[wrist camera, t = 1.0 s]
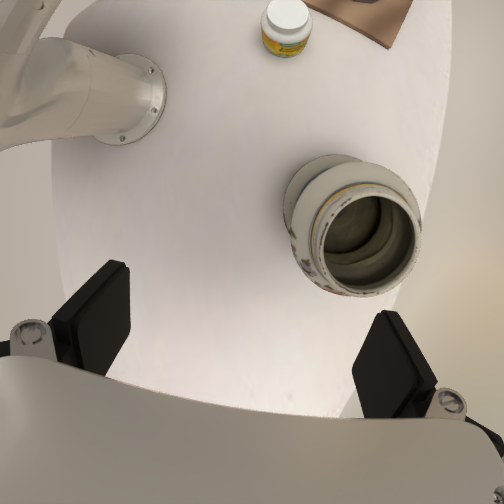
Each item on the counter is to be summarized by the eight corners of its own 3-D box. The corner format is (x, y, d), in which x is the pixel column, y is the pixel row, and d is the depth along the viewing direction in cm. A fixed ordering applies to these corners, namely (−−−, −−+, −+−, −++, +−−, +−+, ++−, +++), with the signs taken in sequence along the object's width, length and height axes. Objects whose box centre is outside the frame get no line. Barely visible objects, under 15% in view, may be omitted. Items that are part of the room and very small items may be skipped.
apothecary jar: (388, 180, 37) (464, 218, 20) (344, 257, 41) (386, 338, 24) (308, 134, 35) (341, 134, 19) (265, 218, 40) (261, 284, 23)
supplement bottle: (291, 15, 29) (297, -17, 21) (314, 47, 31) (327, 22, 22) (254, 32, 31) (249, 3, 22) (276, 65, 32) (278, 43, 23)
